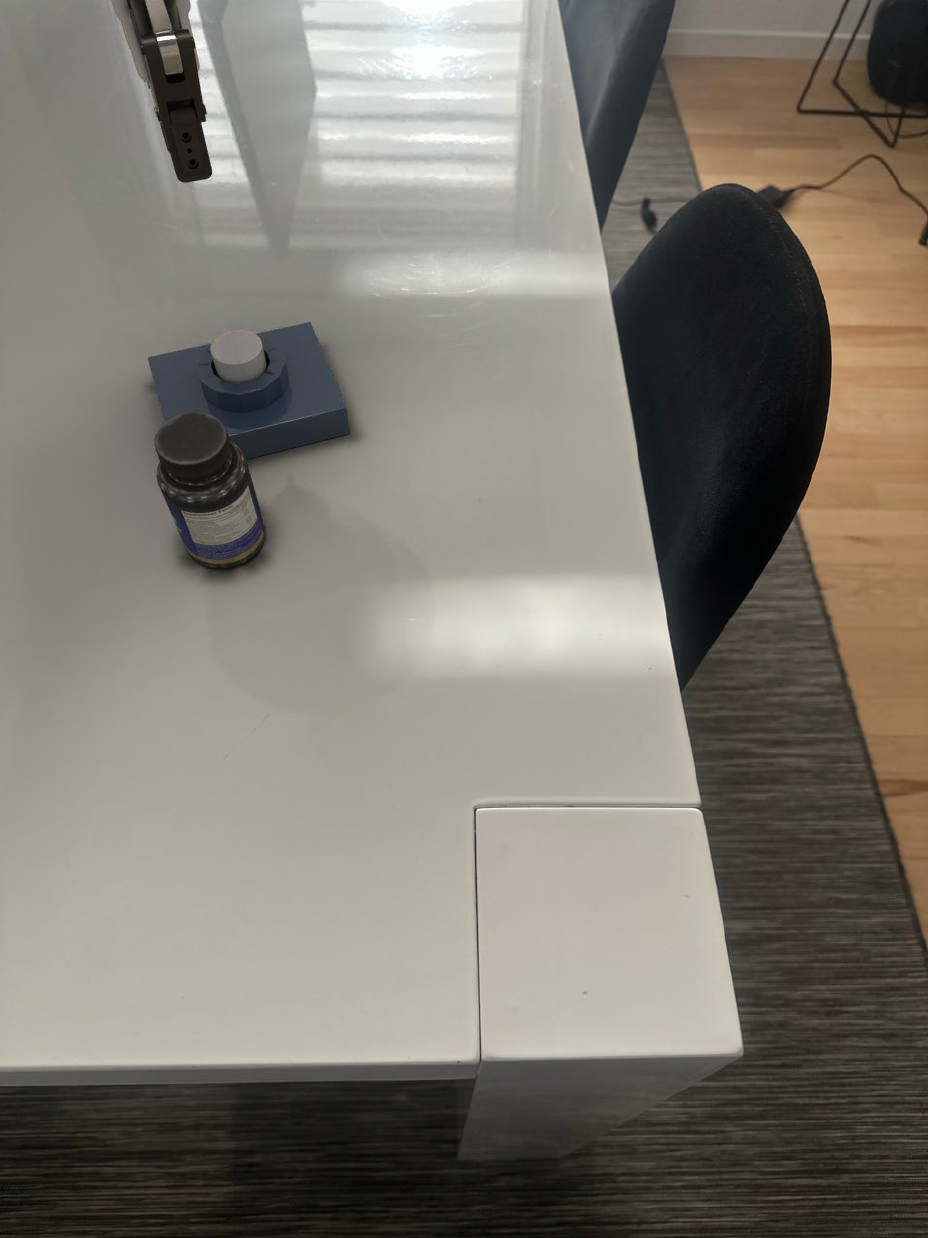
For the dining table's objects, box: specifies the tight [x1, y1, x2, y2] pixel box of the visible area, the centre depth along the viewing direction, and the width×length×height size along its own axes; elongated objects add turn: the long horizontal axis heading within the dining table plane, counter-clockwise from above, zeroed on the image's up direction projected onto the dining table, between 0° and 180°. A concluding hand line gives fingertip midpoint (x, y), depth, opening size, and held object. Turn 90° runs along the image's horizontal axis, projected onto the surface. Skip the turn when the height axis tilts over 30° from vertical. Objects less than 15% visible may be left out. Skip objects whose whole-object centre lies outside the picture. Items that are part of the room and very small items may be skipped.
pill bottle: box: [153, 412, 266, 569], centre depth 59 cm, size 6×6×11 cm
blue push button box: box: [147, 321, 350, 460], centre depth 69 cm, size 14×11×5 cm
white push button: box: [210, 329, 267, 383], centre depth 66 cm, size 4×4×2 cm
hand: (190, 163), depth 53 cm, fingers closed
